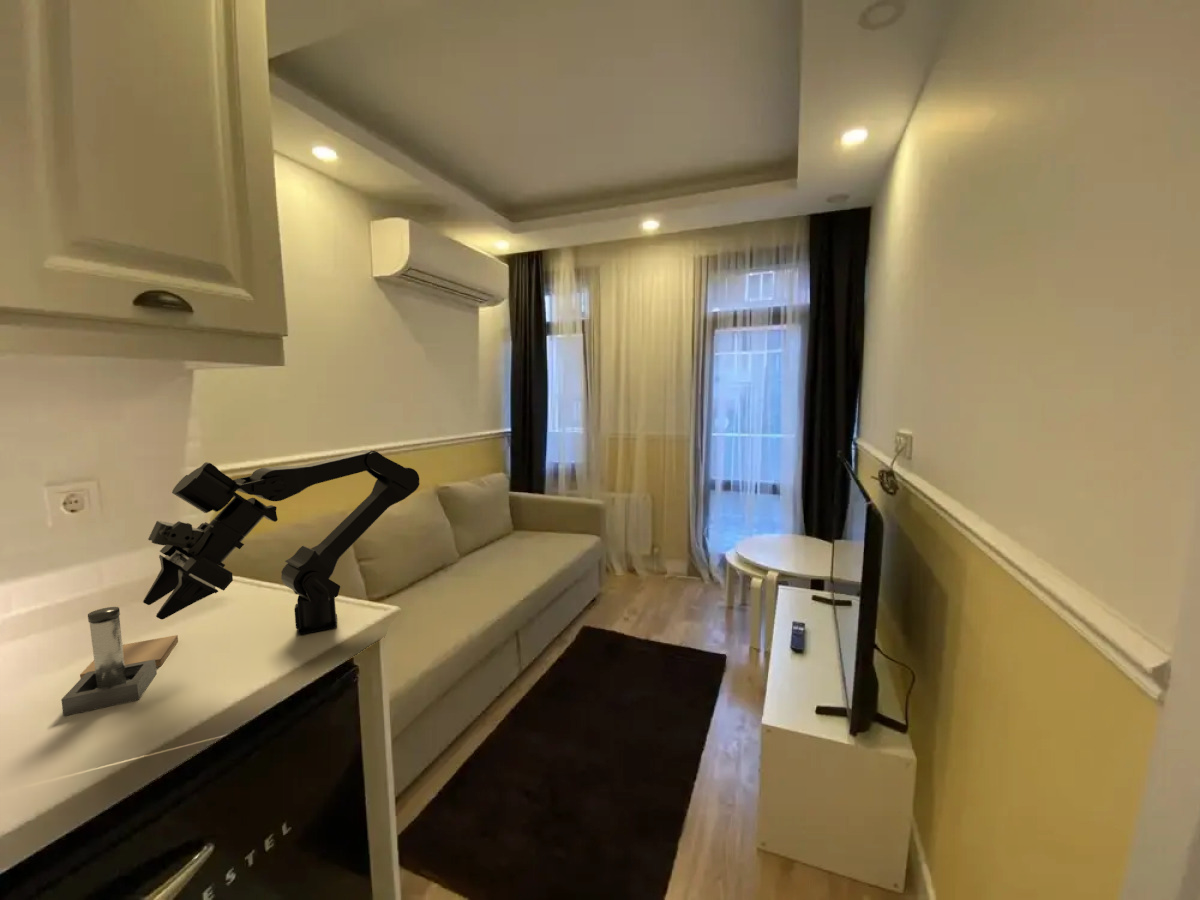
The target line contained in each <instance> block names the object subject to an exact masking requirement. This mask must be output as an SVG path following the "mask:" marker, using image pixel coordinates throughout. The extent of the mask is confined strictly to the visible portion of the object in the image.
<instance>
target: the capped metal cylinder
mask: <svg viewBox="0 0 1200 900" xmlns="http://www.w3.org/2000/svg"><path fill="white" fill-rule="evenodd" d="M120 616H121V613H120V607H119V606H108V607H104V608H100V609H96V610H93V611H90V612H89V613H88V614H87V620H88V623H89V629H90V637H91V645H92V652H93V653H92V655H93V661H94V664H95V672H96V680H97V688H95V689H99V688H104V687H109V686H114V685H119V684H124V683H129V682H131V680H132V679H126V671H125V662H124V653H123V645H124V644H123V638H122V627H121V618H120Z"/></svg>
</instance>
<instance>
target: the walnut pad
mask: <svg viewBox="0 0 1200 900" xmlns="http://www.w3.org/2000/svg"><path fill="white" fill-rule="evenodd" d="M178 642H179V636H178V634H175V635H171V636H170V635H169V636H165V637H159V638H153V639H148V640H143V641H142V640H141V641H136V642H132V643H131V642H129V643H126V644H123V653H124V662H125V665H127V664H132V663H138V662H143V661H148V660H153V659H155V664H156V668H158V667H162V666H163V664H164V663H165V661H167V658H168V657H169V655H170V653H171V652H172V651H173V649H175V647H176V645H177V644H178ZM91 671H95V664H94V660H92V661H91V662H90V664H89V665H87V666H86V668H84V670H83V671H82V672H81V673H80V674H79V677H80V679H81V678H82V677H83V676H84V675H85V674H86V673H87V672H91Z"/></svg>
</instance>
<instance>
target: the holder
mask: <svg viewBox="0 0 1200 900" xmlns="http://www.w3.org/2000/svg"><path fill="white" fill-rule="evenodd" d="M125 671H126V679H132V680H131V682H129V683H124V684H119V685H114V686H109V687H104V688H99V689H95V688H97V680H96V672H95V671H91V672H87V673H86V674H85V675H84V676H83V677H82V678H80V679H79V680H78V681H77V682H76V683H75V684H74V685H73V687H71V688H70V689H69V690H68V692H67V693H65V695H64V696H63V697H62V698H61V700H60V701H61V708H62V714H63V717H66V716H69V715H74V714H79V713H84V712H89V711H94V710H98V709H102V708H107V707H111V706H116V705H122V704H126V703H130V702H135V701H140V699H141V697H142V696H143V694H144V693H145V691H146V690H147V688H148V687H149V685H150V684H151V683H152V681H153V679H154V678H155V677H156V675H157V667H156V664H155V659H153V660H148V661H143V662H138V663H132V664H127V665H125Z"/></svg>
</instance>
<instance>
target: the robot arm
mask: <svg viewBox="0 0 1200 900" xmlns="http://www.w3.org/2000/svg"><path fill="white" fill-rule="evenodd" d="M362 472H367V473H368V474H370V476H372V477H373V478H375V479H376V480H375V483H374V485H373V487H372V491H371V492H370V494H369V495H368V496H367V497H366V498H365V499H364V500H363V501H362V502H360V504H359V505H357V507H355V509H354V510H352V512H351V513H349V514H348V515H347V517H346V518H345V519H343V520H342V521H341V522H340V523H339V524H338V525H337V526H336V527H335V528H334V529H333V530H332V531H331V532H330V533H329V534H328V535H327V536H326V537H325V538H324V539H323V540H322V541H321V542H320V543H319V544H317V545H315V546H314V547H311V548H310V547H307V546H305V545H302V546H301V547H299V548H298V550H297V551H296V552H295V554H293V555H292V556H291V557H290V558H287V559H286V560H285V561H284V563H286V564H285V566H283V568H282V570H281V577H280V578H281V581H282V584H283V585H284V586H285V587H287V588H289V589H291V590H292V591H293V592H294V594H295V595H298V596H297V600H296V602H297V603H296V604H295V605H294V623H295V629H296V630H298V632H297V634H298V635H306V634H311V633H312V634H313V633H316V632H317V633H318V632H322V631H327V630H331V629H332V630H333V629H336V628H338V615H337V611H336V610H337V608H336V598H337V597H339V594H340V589H341V585H340V584H338V583H336V582H334V581H333V580H331V579H330V578H331V576H332V575H333V574H334V571H335V569H336V566H337V563H338V561H339V559H340V558H341V557H342V556H343V555H344V554H345V553H346V552H347V550H349V549H350V548H351V547H352V546H353V545H354V544H355V542H356V541H358V539H359V538H360V537H361V536H362V535H363V534H364V533H366V532H367V530H368V529H369V528H370V527H371V526H372V525H373V524H374V523H375V522H376V521H377V520H378V519H379V518H380V517H381V516H382V515H383V514H384V513H385V511H387V510H388V509H389V508H390V507H391V506H393V505H395V504H397V503H400V502H402V501H403V500H406V499H407V498H408V497H410V496H411V495H412V494H413V493H415V492H416V491H417V490H418V488H419V486H420V475H419V473H418V471H416V469H414V468H411V467H406V466H402V464H399V463H398V462H395V461H393V460H392V459H389V458H387V457H386V456H384V455H383V454H382V453H380V452H379V451H377V450H370V449H369V450H368V449H362V450H360V451H358V452H355V453H350V454H346V455H342V456H337V457H333V458H329V459H325V460H320V461H316V462H312V463H308V464H303V465H284V466H283V465H282V466H267V467H261V468H258V469H256V470H254V471H253V472H252V473H251V475H249V476H243V477H240V478H235V479H233V478H231V477H229V476H228V475H227V474H225V473H224V472H222V471H220V469H218V467H216V466H215V465H214V464H212V463H211V462H204V463H203V464H202V465H201V466H199V467H198V468H196V469H194V470H193V471H191V472H190V473H189V474H186V475H184V476H183V477H182V478H181V479H180V480H179V481H178V483H177V484H176V485H175V486H174V487H173V489H172V491H171V493H172V494H173V495H175V496H176V497H178V498H179V499H181V500H183V501H184V502H186V503H187V504H189V505H191V506H193V507H194V508H196V509H198V510H199V511H201V512H202V513H204V514H208V513H210V512H212V511H214V512H215V513H217V512H219V513H218V514H217V515H215V517H214V518H213V519H212V520H210V522H209V523H208V522H202V523H200V524H199V525H198V527H197V528H196V527H193V525H192V524H191V523H189V522H182V521H179V520H178V521H177V522H175V523H172V522H167V521H162V520H156V522H155V524H154V526H153V528H152V530H151V532H150V534H149V537H148V538H147V541H151V543H152V544H154V545H160V546H163V547H162V548H161V549H160V550H159V552H160V553H162V554H159V555H158V558H159V562H160V567H161V568H160V571H159V573H158V574H157V576H156V577H155V580H154V582H153V583H152V584H151V586H150V588H149V590H148V592H147V594H146V596H145V597H144V599H143V601H142V603H144V604H145V605H147V606H151V605H153V604H154V603H155V602H157V601H160V600H161V599H162V598H164V597H165V596H167V595H169V593H171V594H170V595H169V596H168V597H167V599H166V600H165V602H164V603H163V604H162V606H161V607H160V609H159V610H158V611H157V613H156V615H155V617H156V618H157V619H160V620H164V619H167V618H169V617H170V616H172V615H174V614H177V612H180V611H182V610H184V609H185V608H187V607H189V606H191V605H193V604H194V603H197V602H199V601H201V600H203V599H205V598H207V597H209V596H211V595H213V594H218V593H219V590H218V589H220V590H221V591H225V590H226V589H227V588H228V587H229V585H231V583H232V582H233V579H234V578H233V572H232V571H230V570H228V569H227V568H225V567H226V564H225V563H223V562H224V561H226V559H227V558H228V557H229V556H230V555H231V554H232V552H233V551H235V549H239V550H241V549H242V548H243V546H244V545H245V544H244V543H243V540H245V538H246V537H247V536H248V535H249V534H250V533H251V532H252V531H253V530H254V528H255V527H256V526H257V525H258V524H259V523H260V522H261V521H262V520H263V519H264V518H265V519H266V520H268V521H272V522H273V523H274V522H275V523H276V522H277V521H278V520H279V519H278V516H277V515H278V514H277V506H276V505H274V504H273V505H272V504H271V505H266V504H264V503H262V501H260V500H258V499H257V498H260V499H263V500H266V501H269V502H281V501H283V500H284V501H285V500H286V499H289V498H291V497H293V496H295V495H298V494H300V493H301V492H303V491H304V490H306V489H308V488H309V487H312V486H314V485H318V484H320V483H325V482H328V481H331V480H338V479H340V478H344V477H347V476H351V475H356V474H359V473H362ZM236 492H240V493H244V494H247V495H250V496H255V497H257V498H255V497H249V498H248V499H246V498H244V497H243V496H242V495H240V494H239V493H236ZM163 555H165V556H163ZM217 588H218V589H217Z"/></svg>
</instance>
